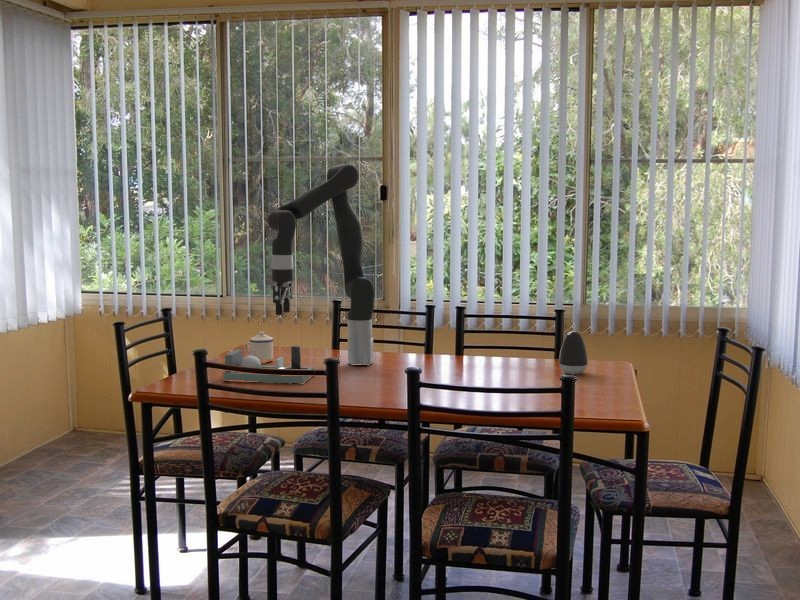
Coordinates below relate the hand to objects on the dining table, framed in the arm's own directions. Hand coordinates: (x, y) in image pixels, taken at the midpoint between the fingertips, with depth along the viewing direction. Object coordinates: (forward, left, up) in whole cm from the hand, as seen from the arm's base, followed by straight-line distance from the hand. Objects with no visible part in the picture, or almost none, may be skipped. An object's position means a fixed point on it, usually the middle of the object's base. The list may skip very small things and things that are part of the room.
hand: (282, 313), depth 293 cm
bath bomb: (+10, +7, -22) cm, 25 cm away
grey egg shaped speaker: (-102, -18, -22) cm, 106 cm away
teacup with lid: (+17, -24, -22) cm, 37 cm away
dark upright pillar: (-4, +7, -22) cm, 23 cm away
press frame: (+3, +7, -22) cm, 23 cm away
